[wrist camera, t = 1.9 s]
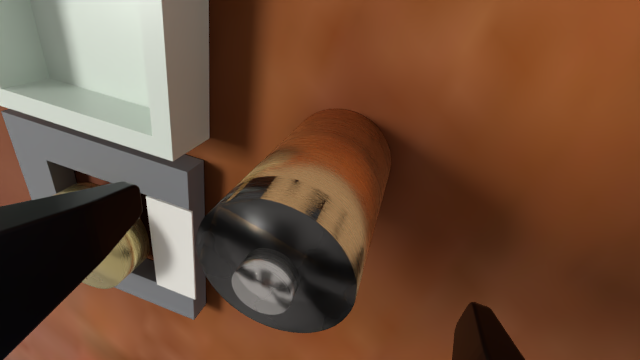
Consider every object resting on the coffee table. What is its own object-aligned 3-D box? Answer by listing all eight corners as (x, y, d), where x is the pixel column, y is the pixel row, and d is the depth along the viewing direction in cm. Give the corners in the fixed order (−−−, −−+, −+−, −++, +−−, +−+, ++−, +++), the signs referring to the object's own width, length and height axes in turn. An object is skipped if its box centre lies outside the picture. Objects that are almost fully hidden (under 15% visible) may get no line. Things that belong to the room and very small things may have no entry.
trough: (207, -123, 10) (150, -152, 8) (209, 138, 15) (172, 161, 13) (-16, -158, 12) (-112, -190, 9) (48, 89, 16) (-8, 102, 14)
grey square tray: (207, 161, 15) (189, 174, 14) (209, 304, 20) (196, 322, 19) (27, 104, 17) (-2, 111, 16) (70, 249, 22) (51, 263, 21)
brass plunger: (144, 201, 16) (113, 222, 14) (154, 276, 19) (129, 302, 17) (54, 169, 17) (17, 186, 15) (77, 246, 19) (46, 267, 18)
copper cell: (404, 125, 12) (372, 255, 6) (376, 214, 14) (330, 376, 8) (298, 96, 12) (174, 188, 7) (286, 186, 15) (183, 316, 9)
